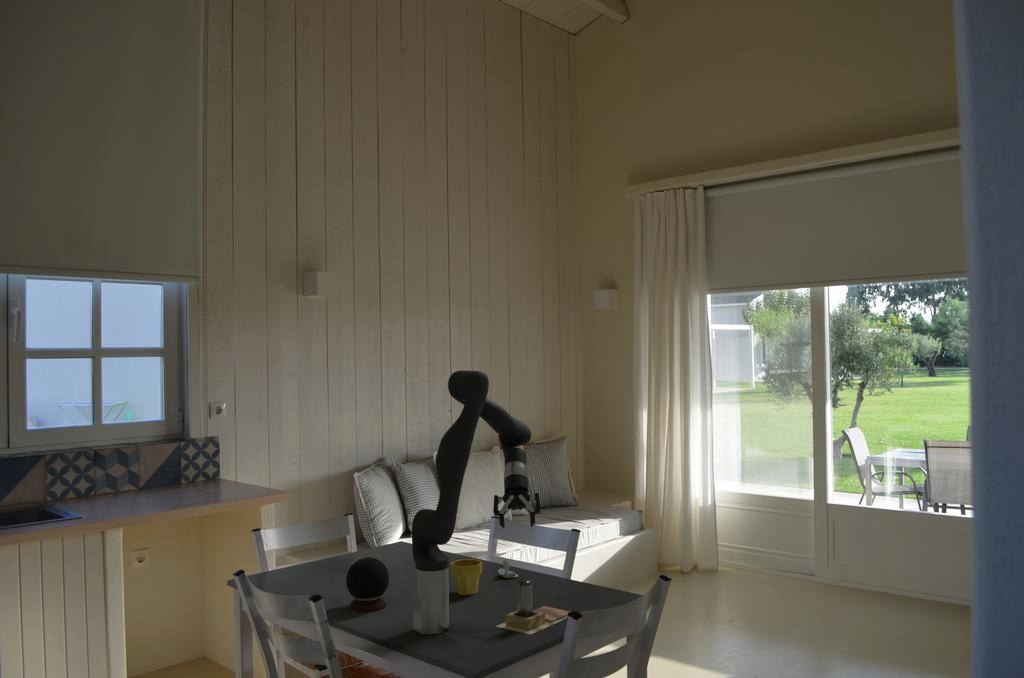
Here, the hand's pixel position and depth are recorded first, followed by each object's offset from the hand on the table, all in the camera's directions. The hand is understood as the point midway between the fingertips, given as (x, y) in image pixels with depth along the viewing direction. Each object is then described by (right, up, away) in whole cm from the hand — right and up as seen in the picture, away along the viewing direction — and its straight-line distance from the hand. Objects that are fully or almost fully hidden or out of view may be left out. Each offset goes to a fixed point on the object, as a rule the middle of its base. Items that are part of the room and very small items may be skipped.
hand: (517, 526), depth 240 cm
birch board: (+6, -25, -11) cm, 28 cm away
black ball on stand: (-46, -27, +8) cm, 54 cm away
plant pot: (-16, -27, +23) cm, 39 cm away
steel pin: (+2, -24, -15) cm, 28 cm away
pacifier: (-3, -28, +43) cm, 51 cm away
